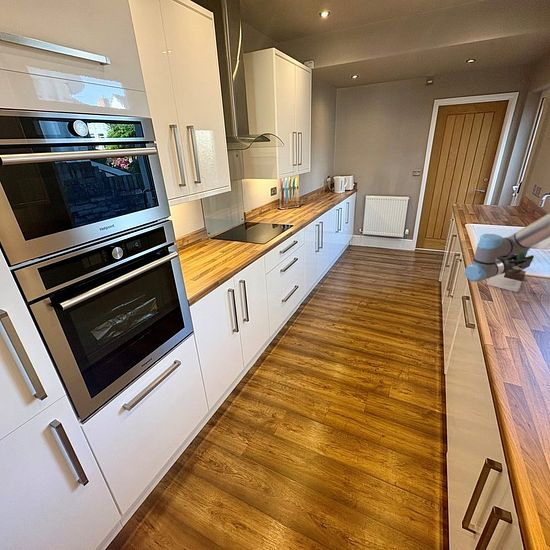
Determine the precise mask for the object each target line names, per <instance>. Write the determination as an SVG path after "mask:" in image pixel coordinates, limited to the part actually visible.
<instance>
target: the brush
mask: <svg viewBox="0 0 550 550" xmlns="http://www.w3.org/2000/svg"><path fill="white" fill-rule="evenodd" d="M528 252H529V250H528V251H527V252H525V253H521V254H518V255H517V254H516V255H517V258H516V260H521V259H523V258H525V257H527V255H528ZM516 260H515V261H516ZM526 273H527V270H524V269H523V270H522V271H521V272H519V271H518V270H517V269H513V270H509V271H507V272H506V273H505V275H504V278H509V279H513V280H517V281H522V282H523V281H524V279H525V276H526Z"/></svg>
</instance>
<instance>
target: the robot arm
mask: <svg viewBox="0 0 550 550" xmlns="http://www.w3.org/2000/svg"><path fill="white" fill-rule="evenodd" d="M549 238H550V212H548V213H547V214H545V215H544V216H542V217H540V218H538V219H537V220H535V221H533V222H532V223H530V224H528V225H527V226H525V227H523V228H521V229H520V230H518V231H516V232H515V233H513V234H511V235H509V236H507V237H502V236H501V235H499V234H495V233H484V234H481V235H480V237H479V240H478V242H477V245H476V249H475V251H474V256H473V259H472V262H471V263H470V264H469V265H468V266H466V267H465V269H464V276H465V278H466V279H467V280H468V281H470V282H472V283H477V282H483V281H485V280H489V278H491V277H494V276H497V275H500V274H503V273H506V272H507V271H509V270H513V269H517V270H518V271H519V272H521V271H522V270H523V271H524V270H525V269H527V268H529V267H530V266H531V264H532V262H533V260H534V257H535V255H533V254H532V255H528V256H526V257H525V258H523V259H521V260H516V258H517V255H518V254H521V253H525V252H527V251H528V252H529V251H530V249H531V248H532V247H533V246H536V245H538V244H540V243H541V242H543V241H545V240H547V239H549ZM528 252H527V253H528ZM515 260H516V261H515Z"/></svg>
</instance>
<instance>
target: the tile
mask: <svg viewBox="0 0 550 550" xmlns="http://www.w3.org/2000/svg"><path fill="white" fill-rule="evenodd" d="M504 275H505V273H503V274H500V275H497V276H494V277H491V278H488V279H487V281H486V285H487V286H490V287H494V288H499V289H502V290H507V291H511V292H515V293H519V292H520V288H521V285H522V282H523V281H517V280H513V279H509V278H504Z"/></svg>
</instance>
